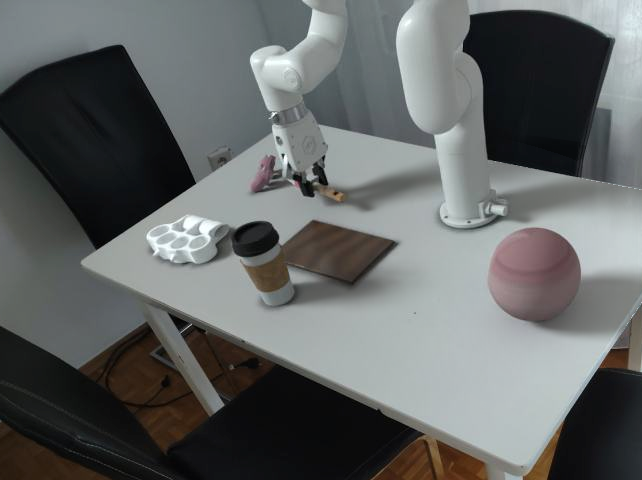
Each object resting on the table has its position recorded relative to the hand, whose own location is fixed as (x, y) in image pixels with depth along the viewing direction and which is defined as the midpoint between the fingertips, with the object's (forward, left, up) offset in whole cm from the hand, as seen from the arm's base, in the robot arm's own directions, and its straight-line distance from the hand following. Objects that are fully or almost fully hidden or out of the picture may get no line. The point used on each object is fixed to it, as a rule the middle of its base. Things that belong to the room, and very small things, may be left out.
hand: (316, 189), depth 142 cm
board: (-15, +14, -3) cm, 21 cm away
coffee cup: (-15, +29, -3) cm, 33 cm away
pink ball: (-61, +14, -3) cm, 63 cm away
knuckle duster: (+18, +24, -3) cm, 30 cm away
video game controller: (+20, -3, -3) cm, 20 cm away
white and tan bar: (0, 0, -1) cm, 1 cm away
